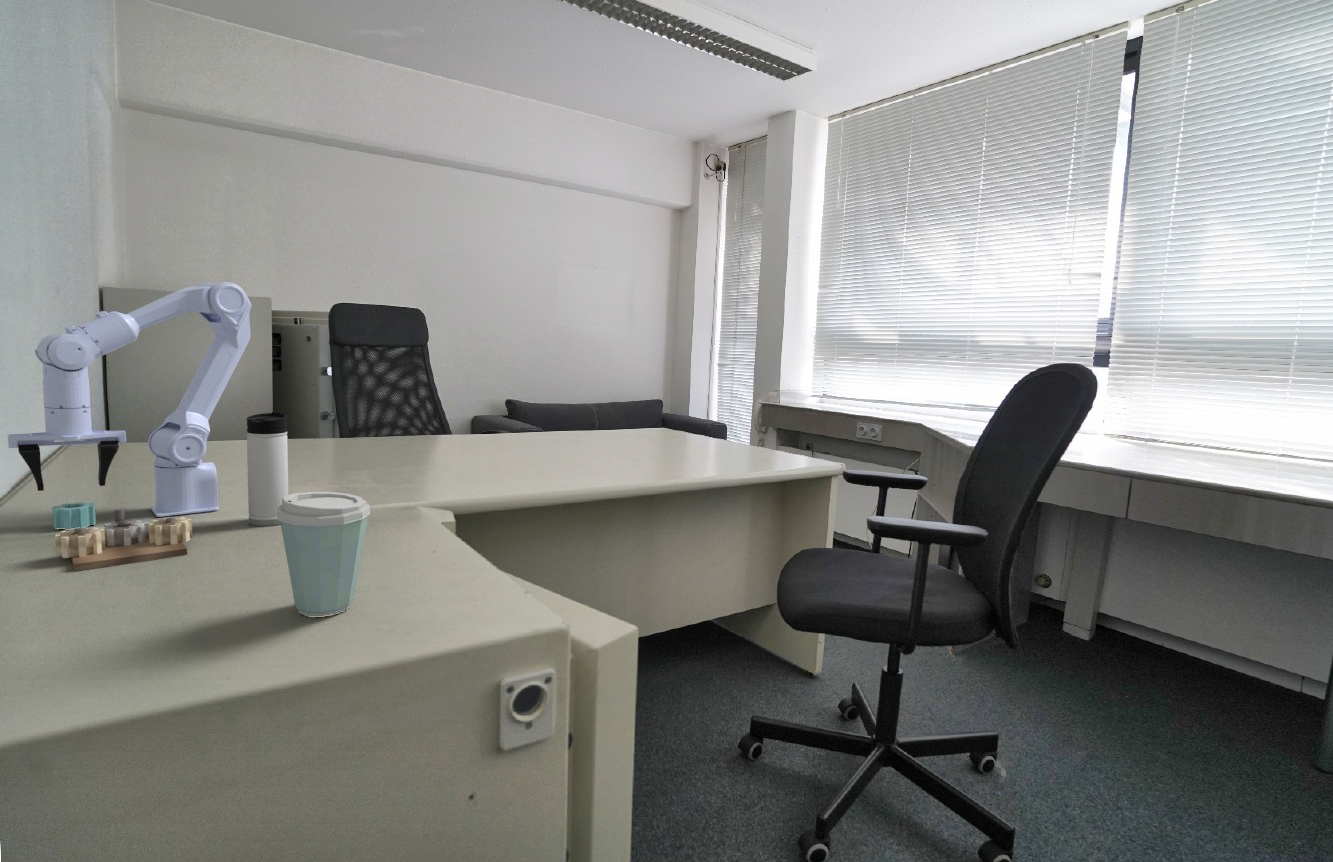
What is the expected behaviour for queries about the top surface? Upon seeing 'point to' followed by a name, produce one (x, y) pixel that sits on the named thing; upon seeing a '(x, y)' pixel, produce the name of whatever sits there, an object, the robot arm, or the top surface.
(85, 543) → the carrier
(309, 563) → the disposable coffee cup
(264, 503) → the travel mug
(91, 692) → the top surface
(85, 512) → the teal gear
